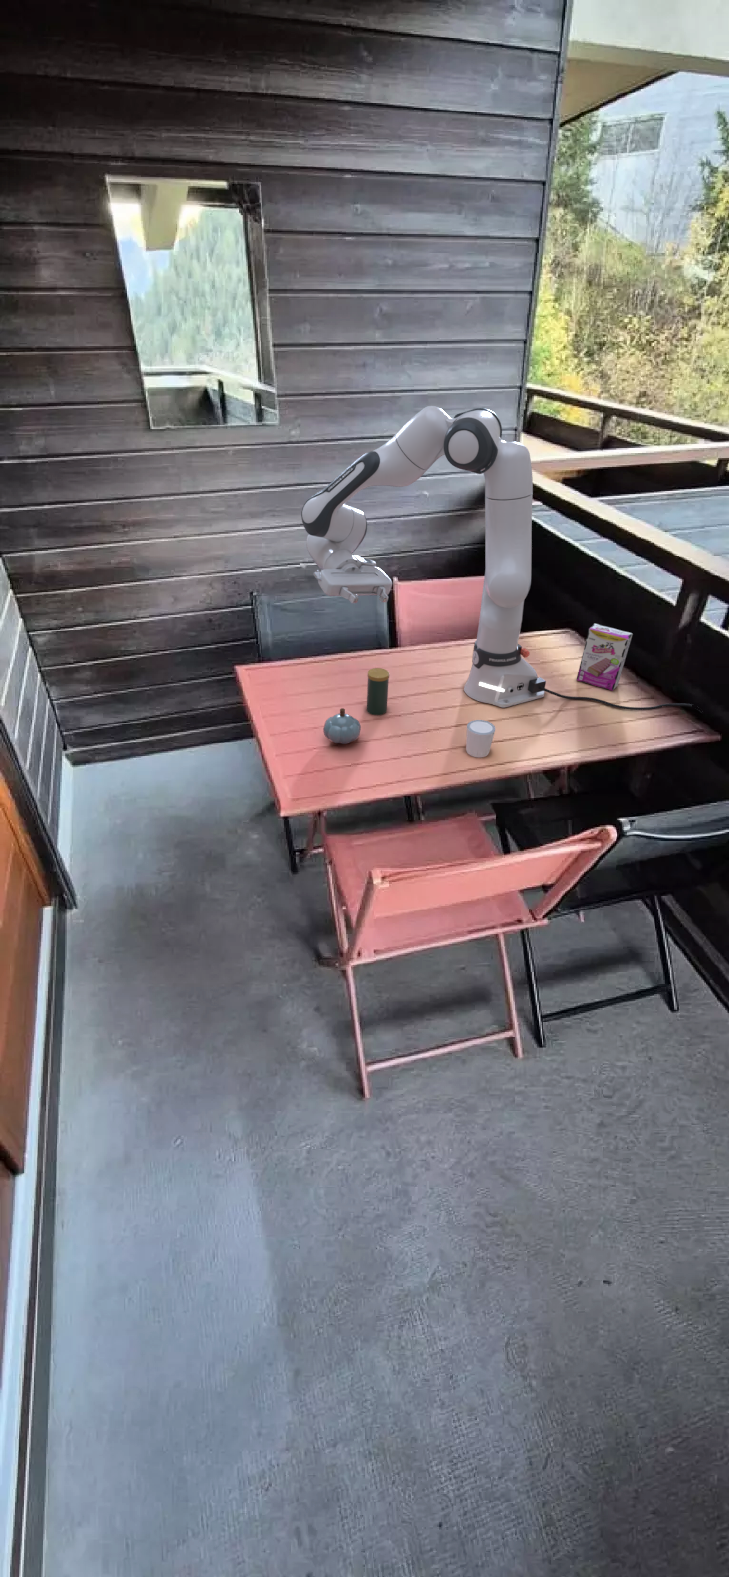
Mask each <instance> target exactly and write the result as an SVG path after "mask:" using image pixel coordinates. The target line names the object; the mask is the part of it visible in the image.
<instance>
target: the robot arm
mask: <svg viewBox="0 0 729 1577" xmlns="http://www.w3.org/2000/svg"><path fill="white" fill-rule="evenodd" d="M502 436H503V426H502V422H501V420H500V418H499V417H498V415H497V414H496V413H495V412H494V411H492V410H490V409H488V408H485V407H484V408H483V407H482V408H481V407H478V408H473V409H470V410H467V411H464V412H460V413H456V414H455V415H454V416H453V417H451V416H450V415H449V414H448V413H446V412H445V411H444V410H443V409H442V408H440V407H438V406H435V405H428V406H425V407H424V408H422V409H421V410H419V411H418V412H417V413H416V414H414V415H413V416H412V417H411V418H410V419H409V420H408V421H406V422H405V423H404V424H403V426H401V428H399V430H398V431H397V432H396V433H395V434H394V435H393V436H392V437H391V438H390V439H389V440H388V441H386V442H385V443H384V444H382V445H381V446H379V447H378V448H375V449H374V450H371V451H369V452H366V453H363V454H362V455H361V456H360V457H358V458H357V459H356V460H355V461H353V462H352V463H351V464H350V465H349V466H347V467H346V468H345V469H344V470H343V471H342V472H341V473H340V474H338V476H337V477H335V478H334V479H333V480H331V481H330V482H329V483H328V485H326V486H325V487H324V488H323V489H321V490H320V491H317V492H316V493H314V494H312V495H311V496H310V497H309V498H307V499H306V501H305V502H304V504H303V505H302V508H301V512H300V513H301V514H300V518H301V524H302V526H303V529H304V530H305V532H306V533H307V537H306V541H305V545H306V550H307V553H308V555H309V557H310V558H311V560H313V562H314V563H315V564H316V566H317V567H318V568H319V569H316V570H315V571H314V572H313V577H314V578H315V579H316V581H317V583H318V585H319V587H320V589H321V590H322V591H323V593H324V594H325V595H326V596H328V597H341V598H343V599H345V600H348V601H349V602H350V603H351V604H358V602H359V599H360V598H359V596H378V600H379V601H380V602H381V603H388V601H389V594H390V592H391V590H392V587H393V581H392V579H391V578H390V576H388V574H386V573H385V571H384V570H382V569H381V568H380V567H378V566H377V563H376V561H375V560H373V559H370V558H365V557H361V556H359V555H357V554H354V553H355V551H356V550H357V549H358V548H359V546H360V545H361V544H362V543H363V541H364V539H365V537H366V535H367V532H368V520H367V517H366V515H365V513H364V512H363V511H362V509H358V508H356V507H354V506H351V505H349V504H347V503H348V502H349V501H350V500H351V499H352V498H353V497H355V495H357V494H358V493H359V492H361V491H362V490H364V489H367V488H370V487H393V488H402V487H409V486H410V485H412V484H413V483H415V482H417V481H418V480H419V479H421V477H423V476H424V474H426V472H427V471H428V470H429V469H430V468H431V467H432V465H433V464H435V462H436V461H438V459H440V458H441V457H443V456H445V458H446V460H447V461H448V462H449V464H450V465H451V466H453V467H455V468H456V469H459V470H462V471H467V472H471V473H474V474H477V475H482V474H483V476H484V503H485V504H484V510H485V511H484V517H485V518H484V522H485V523H484V524H485V529H484V532H485V533H484V535H485V539H484V540H485V542H484V543H485V550H484V552H485V554H484V555H485V567H484V568H485V570H484V577H483V584H482V587H483V588H482V593H481V594H482V595H481V601H480V602H481V603H480V613H479V619H478V626H477V627H478V628H477V633H476V640H475V641H474V645H473V650H472V656H471V658H472V659H471V662H472V663H471V667H470V671H469V674H468V676H467V680H466V682H465V684H464V686H463V691H464V693H465V694H466V696H467V697H469V698H471V699H472V700H475V701H477V702H480V703H484V704H490V705H493V706H495V707H499V708H502V709H504V708H509V707H512V706H516V705H519V704H524V703H527V702H531V701H535V700H539V699H541V698H544V697H545V692H546V693H547V694H551V695H553V696H556V697H559V698H562V699H567V700H576V701H577V700H581V701H593V702H596V703H600V704H604V705H607V706H608V707H609V706H610V707H612V708H616V709H622V710H628V711H629V710H630V711H649V710H650V711H652V710H656V709H660V708H663V707H662V706H666V707H687V708H692V705H693V704H692V703H691V704H690V703H662V704H658V705H655V706H654V705H653V706H639V707H636V706H635V707H634V706H626V705H620V704H619V705H618V704H615V703H612V702H609V701H605V700H602V699H599V698H596V697H588V696H569V695H565V694H560V693H558V692H555V691H553V690H550V689H548V688H546V684H547V681H546V680H545V679H544V678H542V677H541V676H539V677H538V672H537V671H536V669H535V668H534V667H533V666H532V664H530V663H529V662H528V661H526V659H525V658H528V657H529V656H530V653H531V652H530V651H529V650H528V649H527V648H525V647H524V648H523V646H521V645H520V644H519V640H520V635H521V629H522V623H523V615H524V605H525V599H526V598H527V597H528V594H529V592H530V590H531V586H532V554H533V553H532V549H533V547H532V546H533V545H532V544H533V543H532V541H533V540H532V531H533V530H532V529H533V528H532V526H533V525H532V524H533V522H532V521H533V497H534V496H533V495H534V494H533V493H534V488H533V487H534V483H533V482H534V480H533V467H532V466H533V465H532V459H531V453H530V451H529V449H528V448H527V446H526V445H524V444H522V443H520V442H517V441H507V440H506V441H505V440H503V439H502ZM693 709H695V710H696V711H698V713H700V714H703V713H702V712H703V711H702V712H701V711H700V710H698V709H696V708H693Z"/></svg>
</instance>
